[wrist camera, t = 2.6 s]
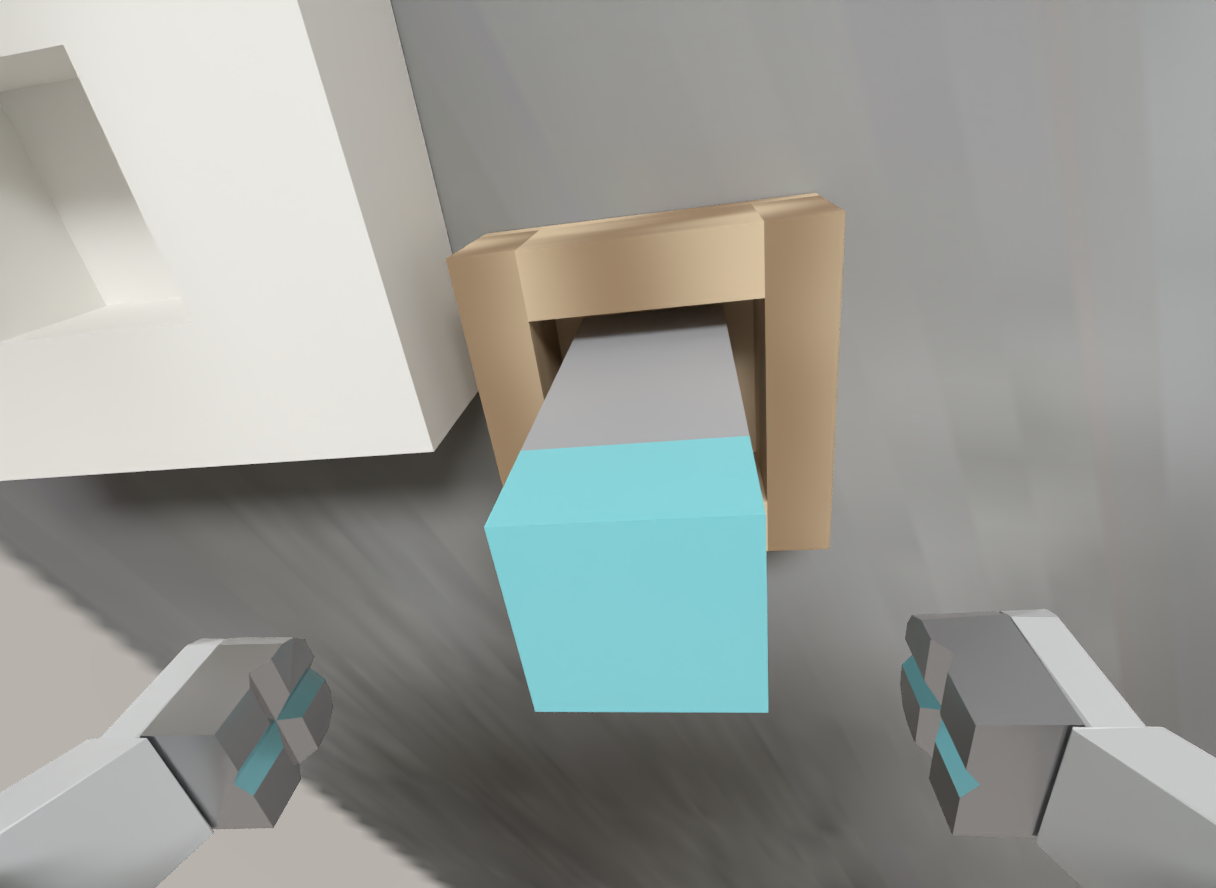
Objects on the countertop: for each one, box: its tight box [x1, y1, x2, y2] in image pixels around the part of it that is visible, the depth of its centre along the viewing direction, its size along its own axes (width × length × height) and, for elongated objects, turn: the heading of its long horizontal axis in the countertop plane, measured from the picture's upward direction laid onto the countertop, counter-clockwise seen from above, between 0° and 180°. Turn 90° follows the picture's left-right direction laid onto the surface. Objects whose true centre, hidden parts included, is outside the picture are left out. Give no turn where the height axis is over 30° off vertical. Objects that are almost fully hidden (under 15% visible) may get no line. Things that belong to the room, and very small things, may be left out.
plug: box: [484, 304, 768, 713], centre depth 12 cm, size 4×4×9 cm
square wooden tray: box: [446, 193, 846, 551], centre depth 15 cm, size 8×8×3 cm
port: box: [0, 0, 478, 481], centre depth 14 cm, size 14×12×4 cm
